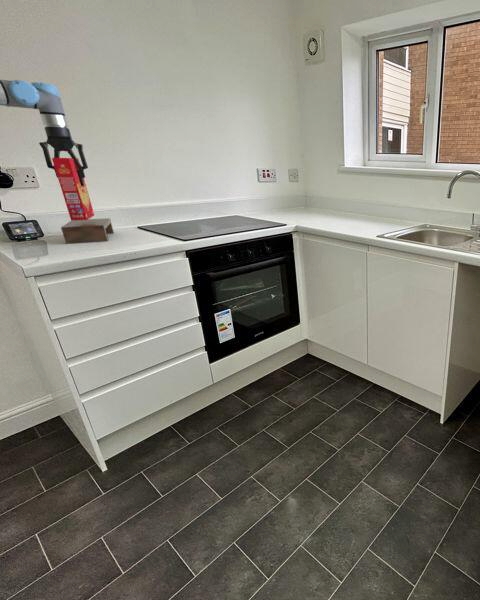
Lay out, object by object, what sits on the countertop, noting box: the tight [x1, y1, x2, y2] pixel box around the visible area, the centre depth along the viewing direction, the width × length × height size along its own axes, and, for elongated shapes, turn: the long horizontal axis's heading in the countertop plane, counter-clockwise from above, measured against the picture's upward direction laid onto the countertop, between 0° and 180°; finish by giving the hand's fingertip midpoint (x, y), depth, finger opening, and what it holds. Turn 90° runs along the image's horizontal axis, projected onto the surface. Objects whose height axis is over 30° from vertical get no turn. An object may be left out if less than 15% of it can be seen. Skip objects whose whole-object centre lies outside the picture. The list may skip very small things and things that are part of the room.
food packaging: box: [51, 157, 95, 221], centre depth 153 cm, size 15×5×25 cm, turn 29°
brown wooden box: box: [60, 217, 115, 245], centre depth 160 cm, size 14×22×7 cm, turn 31°
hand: (73, 185), depth 152 cm, fingers closed on food packaging, 5 cm apart
